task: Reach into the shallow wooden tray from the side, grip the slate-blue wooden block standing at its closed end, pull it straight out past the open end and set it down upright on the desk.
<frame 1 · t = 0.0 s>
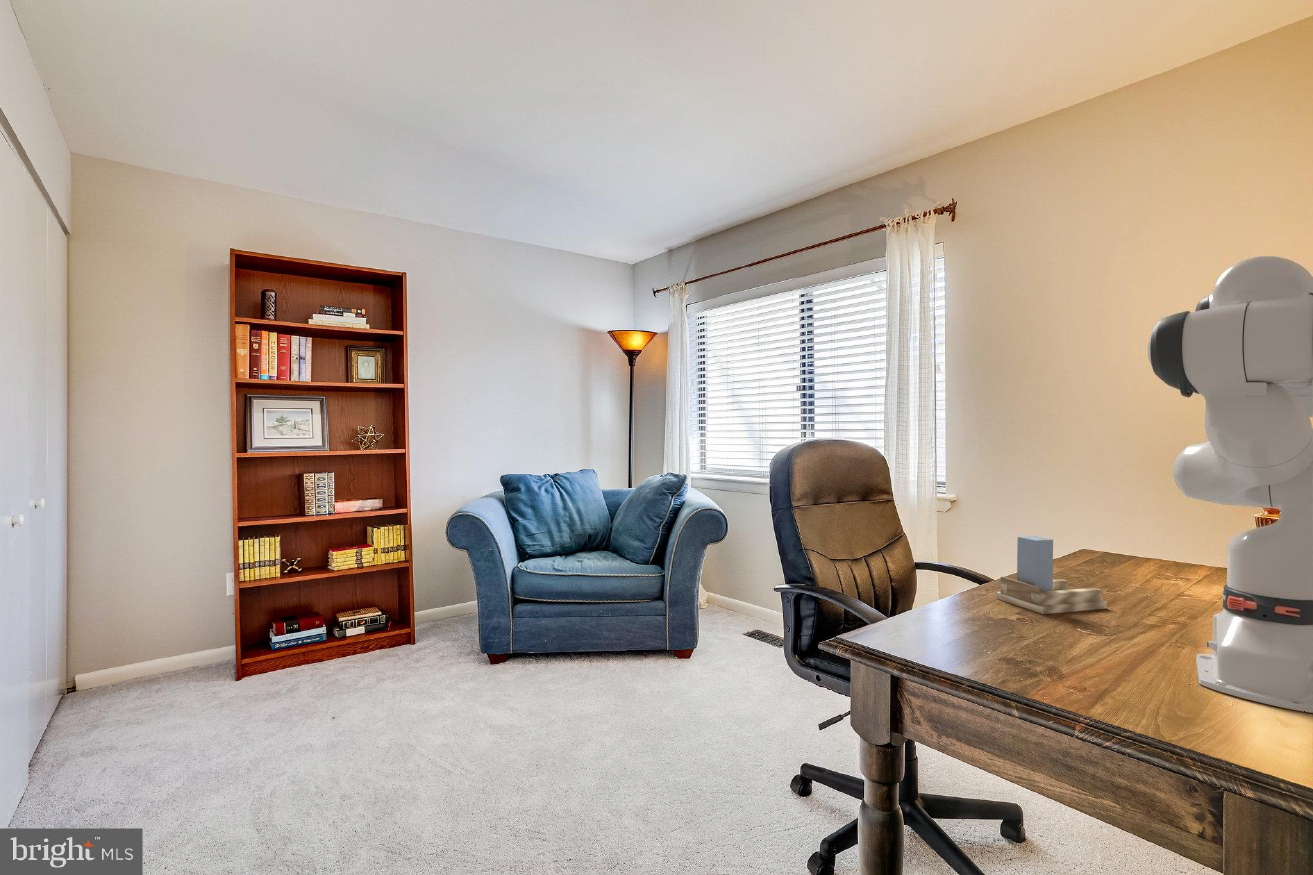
hand: (1291, 441, 117), 39 cm above the table, tool pointing down, fingers open, 8 cm apart
shallow wooden tray: (1050, 603, 145), on the table
slate block: (1034, 598, 144), point 1 cm above the table, touching shallow wooden tray
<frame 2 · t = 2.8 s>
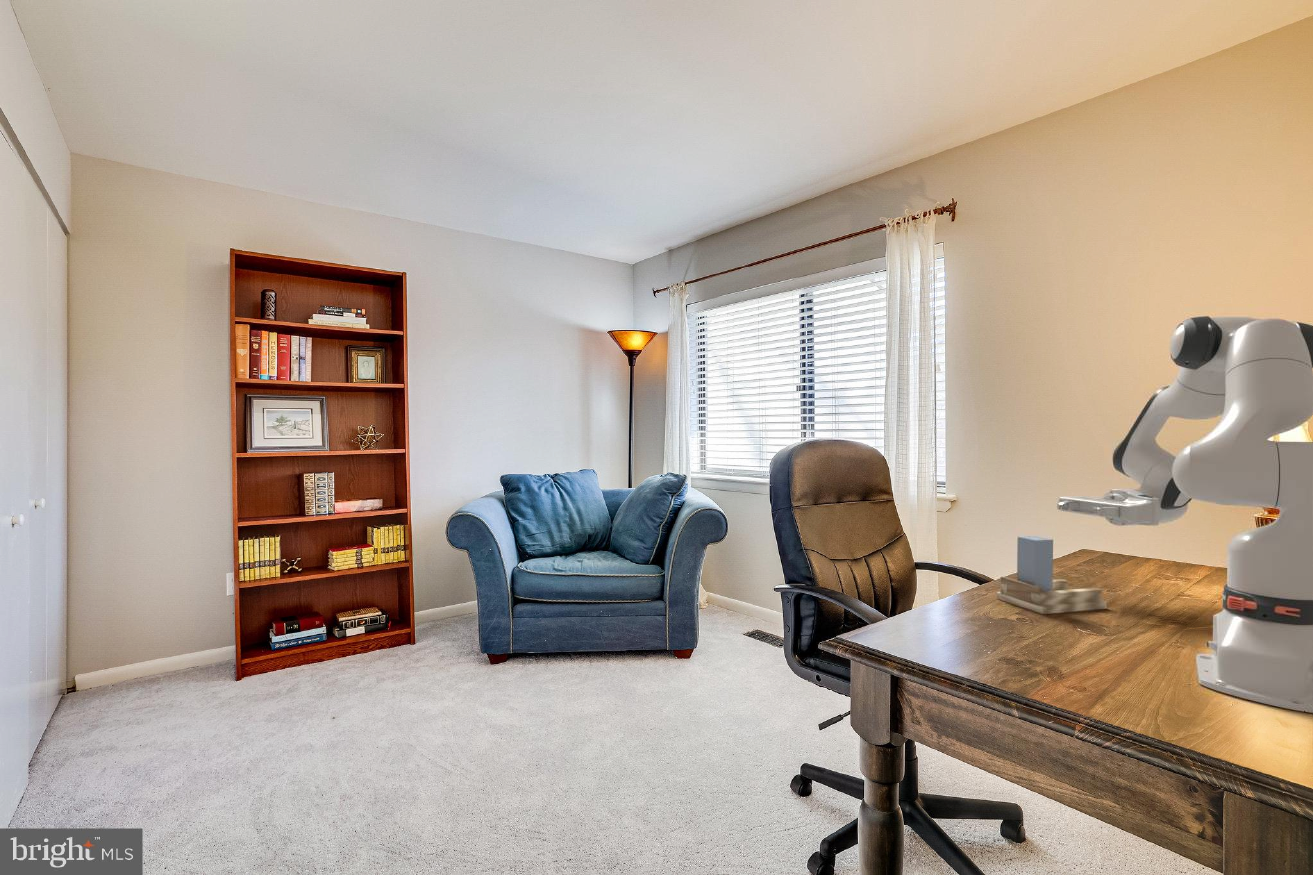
hand: (1077, 509, 147), 22 cm above the table, tool horizontal, fingers open, 8 cm apart
nothing on the table moved.
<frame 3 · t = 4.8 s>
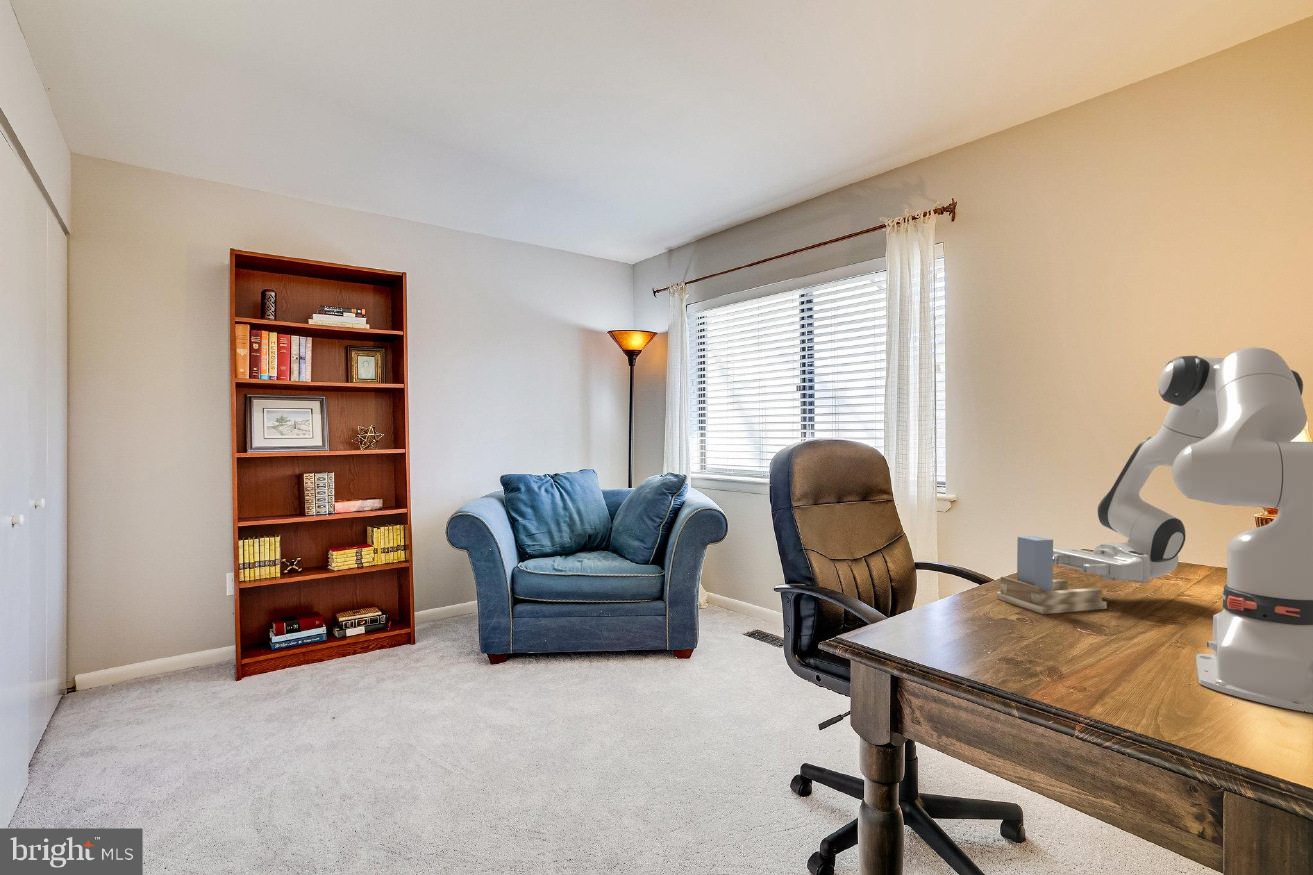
hand: (1067, 564, 146), 9 cm above the table, tool horizontal, fingers open, 8 cm apart
nothing on the table moved.
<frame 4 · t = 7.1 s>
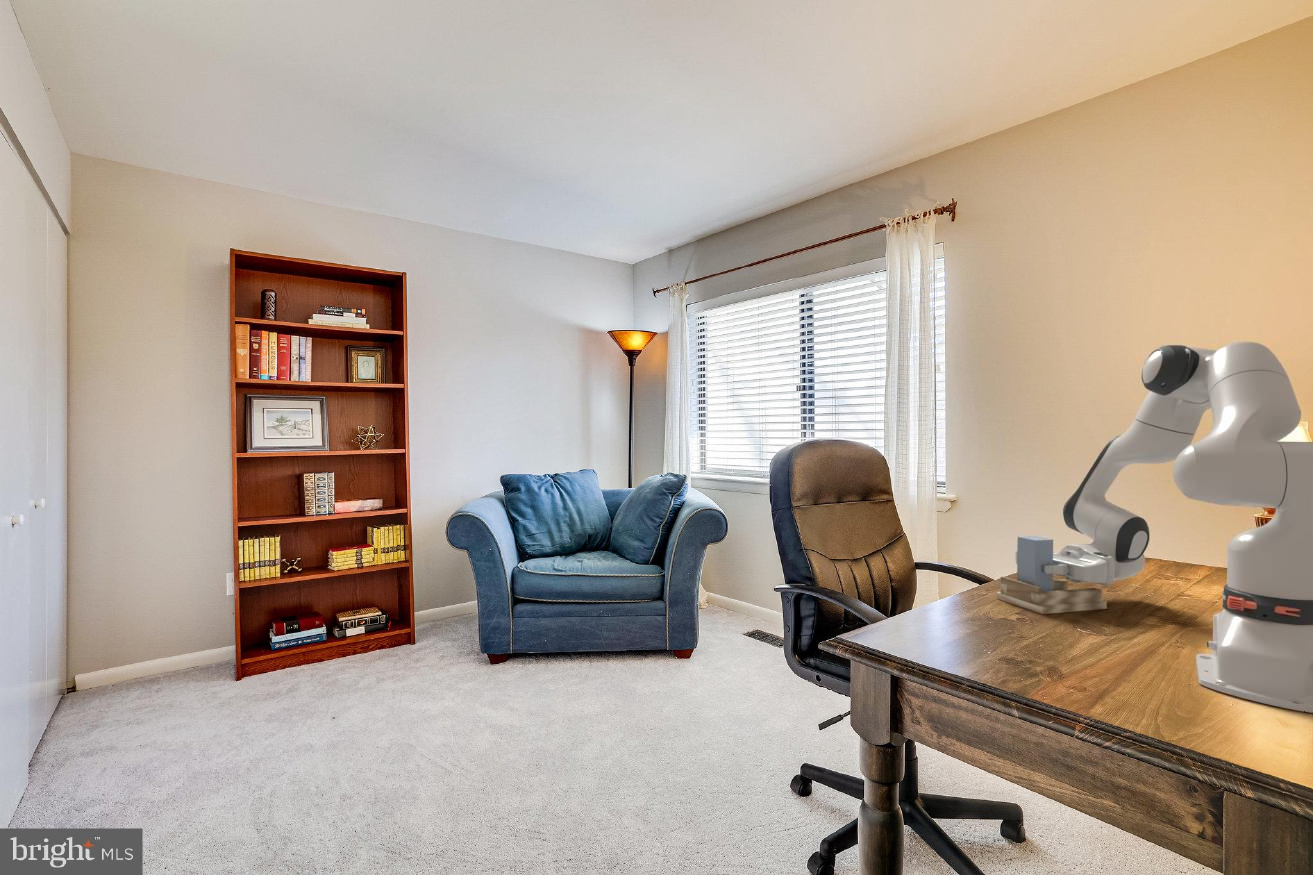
hand: (1031, 566, 144), 9 cm above the table, tool horizontal, fingers closed on slate block, 5 cm apart
slate block: (1034, 598, 144), point 2 cm above the table, touching shallow wooden tray, gripper
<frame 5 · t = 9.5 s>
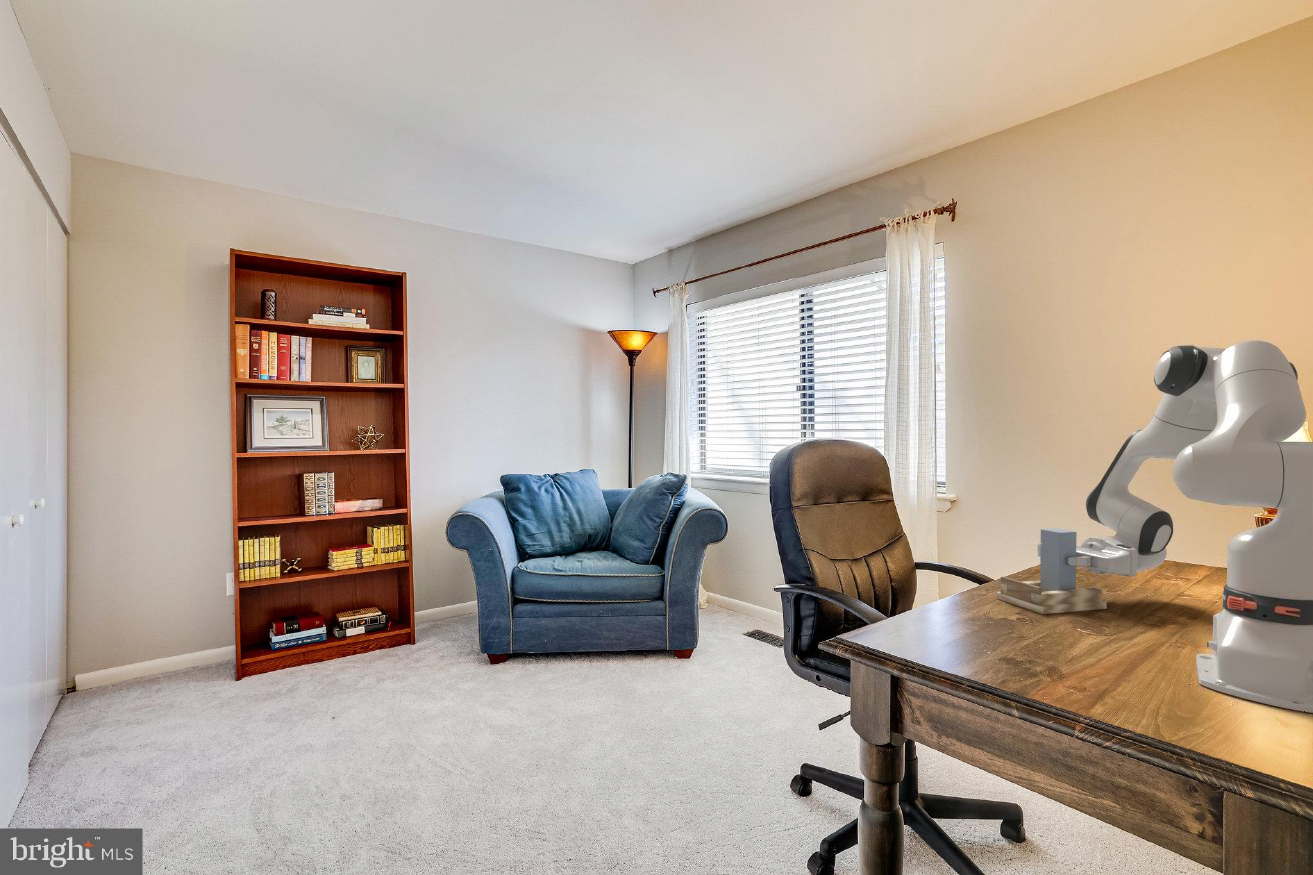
hand: (1055, 558, 146), 11 cm above the table, tool horizontal, fingers closed on slate block, 5 cm apart
slate block: (1057, 589, 146), point 3 cm above the table, touching gripper
when the fingers open (9 cm above the table, at t = 12.1 s): slate block drops 2 cm, on the table.
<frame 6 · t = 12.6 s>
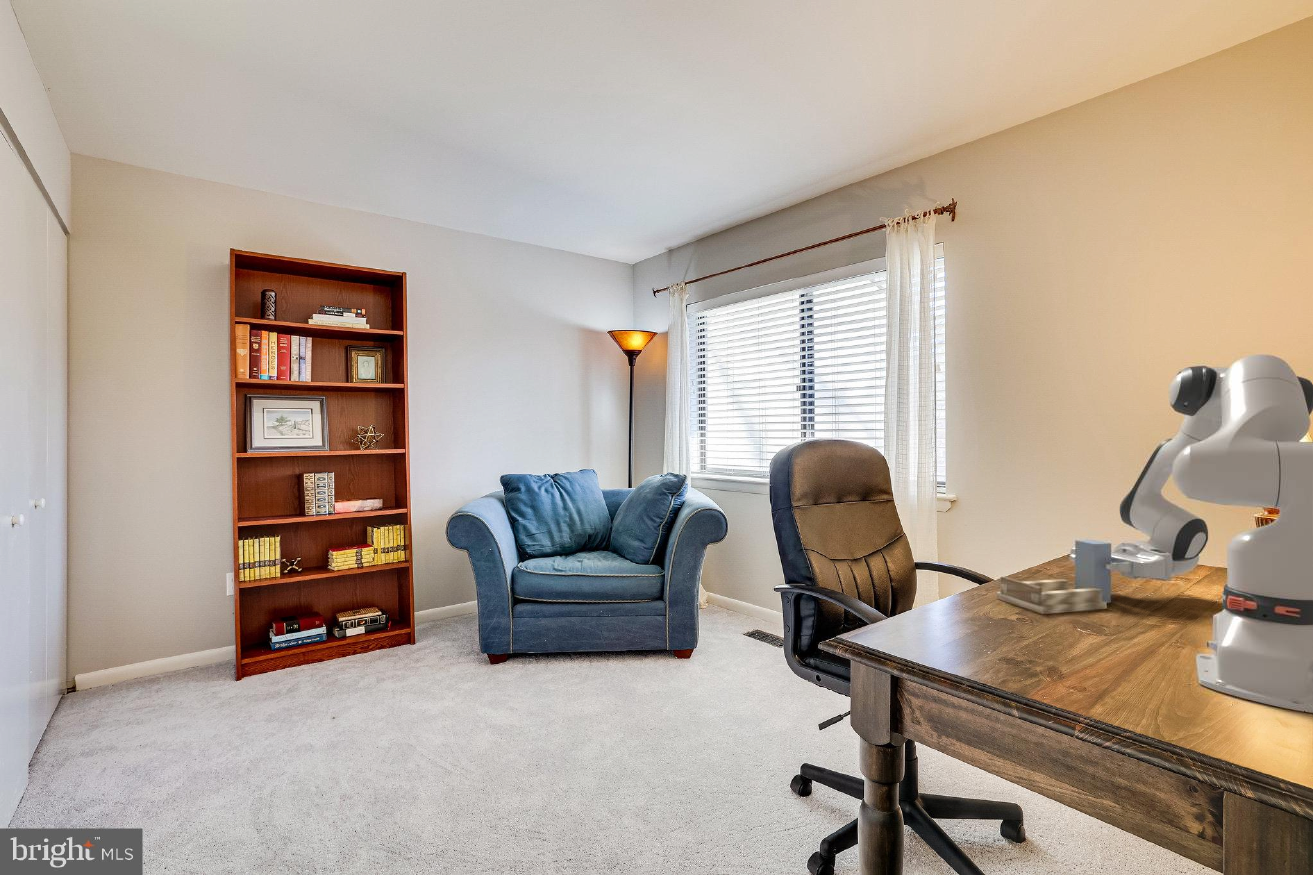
hand: (1089, 562, 148), 9 cm above the table, tool horizontal, fingers open, 8 cm apart
slate block: (1092, 600, 149), on the table
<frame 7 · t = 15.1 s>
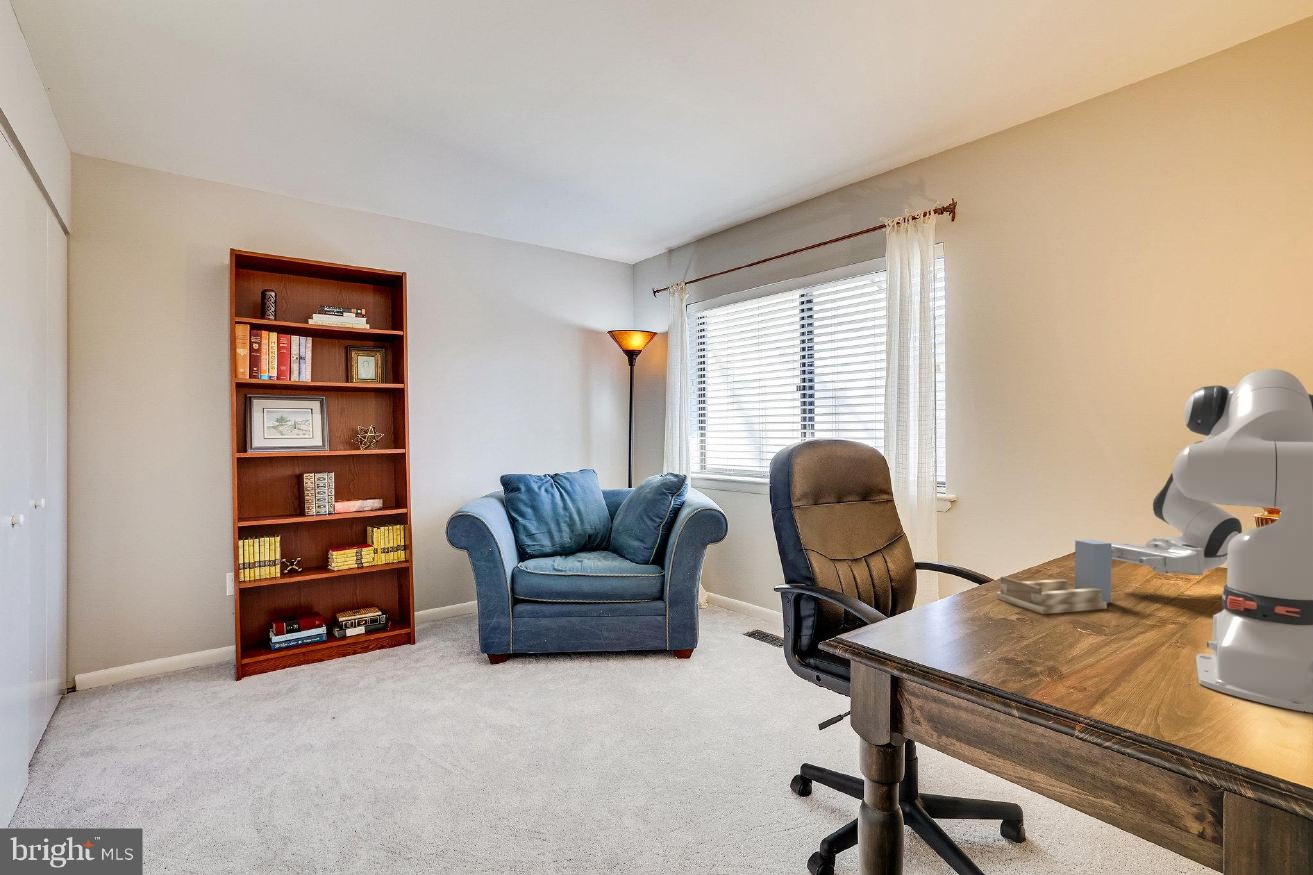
hand: (1122, 557, 151), 10 cm above the table, tool horizontal, fingers open, 8 cm apart
nothing on the table moved.
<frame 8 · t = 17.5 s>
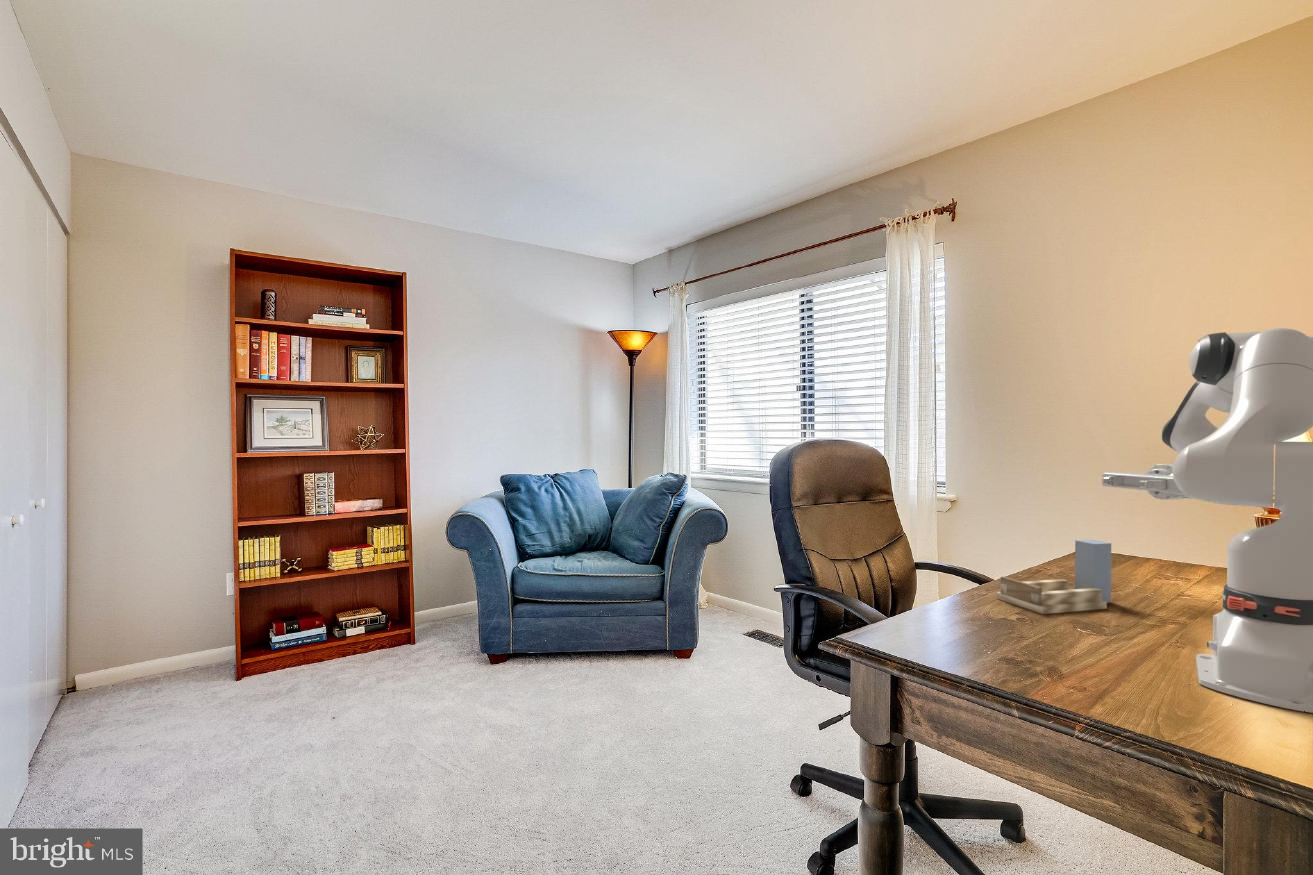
hand: (1123, 482, 151), 28 cm above the table, tool horizontal, fingers open, 8 cm apart
nothing on the table moved.
at the end: slate block inside the target area (0.3 cm from its centre), on the table; slate block tilted 0°; the gripper is holding nothing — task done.
